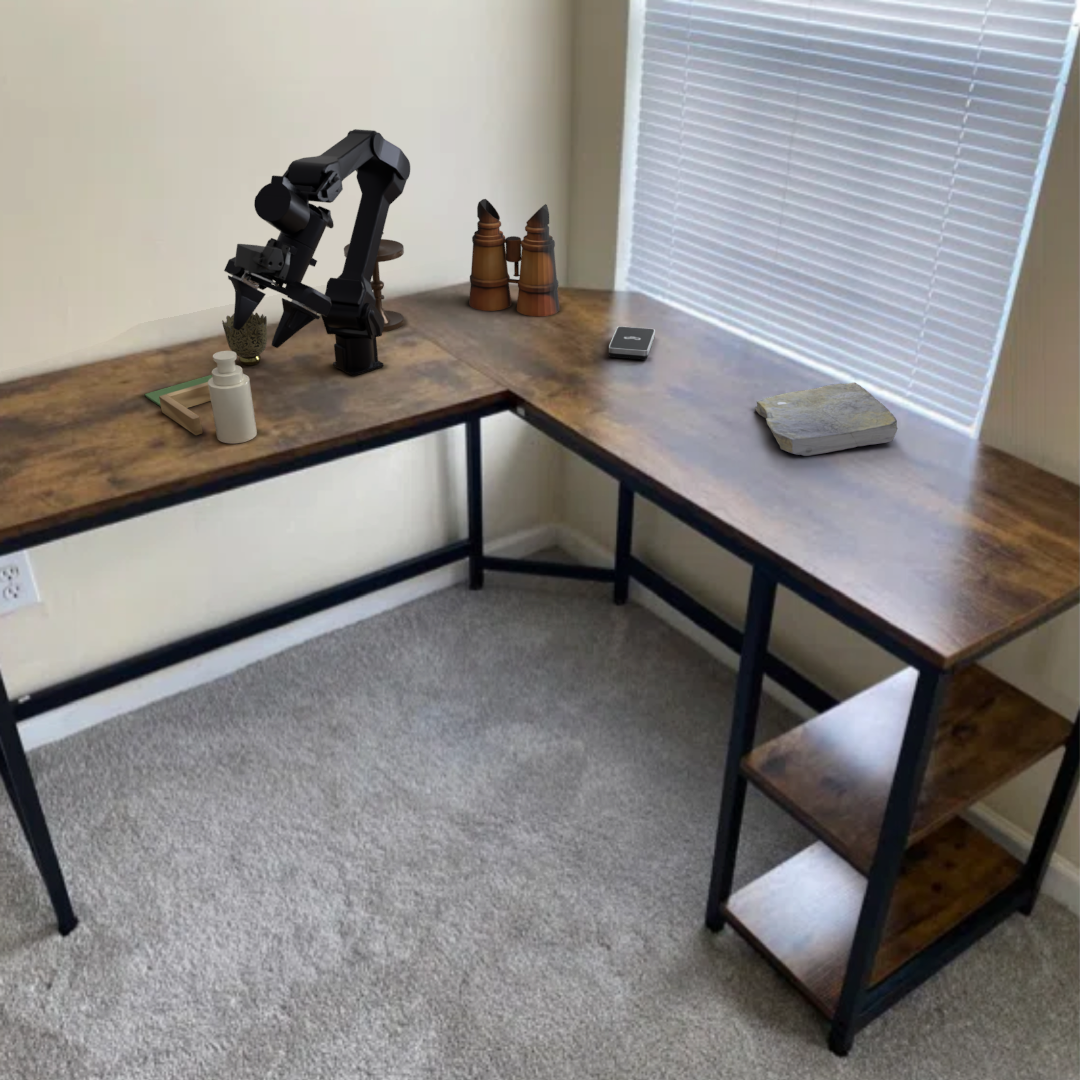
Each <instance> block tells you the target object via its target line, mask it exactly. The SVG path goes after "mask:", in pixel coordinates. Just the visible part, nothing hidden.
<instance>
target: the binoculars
mask: <svg viewBox="0 0 1080 1080" xmlns="http://www.w3.org/2000/svg"><path fill="white" fill-rule="evenodd" d="M476 216H477V218H478V221H477V223H476V224H477V225H476V226H477V230H476V231H474V233H473V235H472V236H471V241H472V252H471V253H472V254H471V255H472V256H471V270H470V274H469V283H470V289H469V298H468V304H469V306H470V307H471V308H472V309H475V310H478V311H486V312H493V311H501V310H506V309H508V308H510V307H511V306H512V296H511V289H510V284H516V285H517V287H518V292H517V302H516V311H517V312H518V313H519V314H521V315H524V316H528V317H548V316H553V315H555V314H557V313H559V311H560V310H561V309H560V300H559V299H560V298H559V291H558V289H559V280H558V277H557V266H556V255H555V247H556V242H555V240H554V239H553V236H551V235H550V226H549V225H550V211H549V207H548V204H546V203H545V204H543V205H542V206H541V207H540V208H539V209H538V210H537V211H536V212H535V213H534V214H532V216H530V218H529V219H528V220H527V221H526V225H525V226H524V231H525V232H526V235H524V236H523V239H522V238H521V237H520V236H515V235H513V236H512V235H511V236H505V235H504V231H502V230H500V228H501V227H502V221H500V219H501V218H500V215H499V213H498V211H497V209H496V208H495V207H494V205H493V204H492V203H491V201H489V200H488V199H486V198H483V199H481V200H480V201H478V203H477V207H476ZM508 262H509V263H513V264H514V265H513V268H514V270H513V271H514V274H513V277H516V278H517V277H518V278H519V279H515V278H511V277H510V274H509V269H508ZM519 264H520V265H519ZM519 266H520V267H519Z"/></svg>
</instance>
